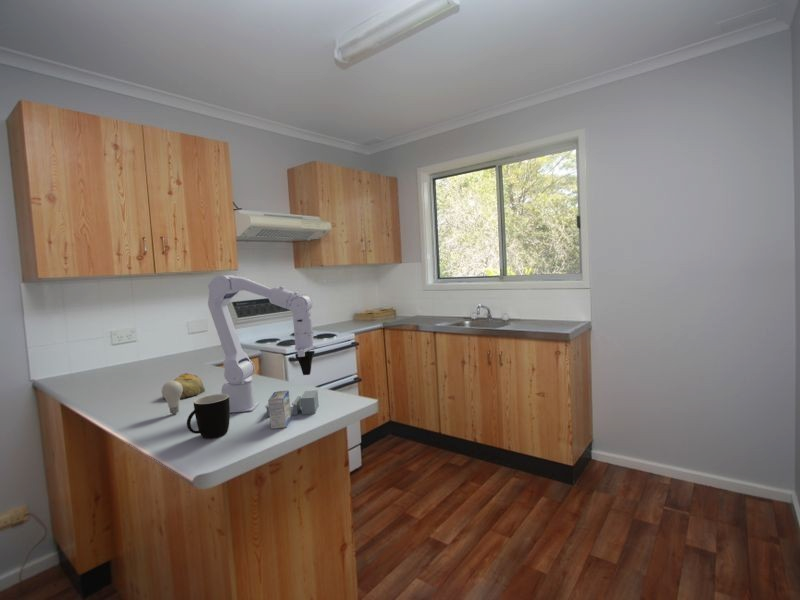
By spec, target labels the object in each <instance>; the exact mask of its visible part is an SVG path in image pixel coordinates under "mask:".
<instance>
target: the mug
mask: <svg viewBox="0 0 800 600" xmlns="http://www.w3.org/2000/svg"><path fill="white" fill-rule="evenodd" d="M230 415H231V414H230V403H229V396H228V395H227V394H221V393H217V394H215V393H214V394H209V395H204V396H201V397H198V398H196V399H195V400H194V401H193V411H191V413H189V415H188V417H187V419H186V427H187V429H188V431H189V432H190V433H192V434H197V435H198V434H200V436H201V437H202V438H203V439H207V440H209V439H210V440H211V439H216V438H221V437H222V436H225V435H226V434H227V433H228V431H229V428H230V417H231V416H230ZM194 416H195V421H196V424H197V428H198V430H195V429H193V428H192V424H191V422H192V419H193V417H194Z"/></svg>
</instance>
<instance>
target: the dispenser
mask: <svg viewBox="0 0 800 600" xmlns="http://www.w3.org/2000/svg"><path fill="white" fill-rule="evenodd" d="M291 405H292V406H290V410H291V416H298V414H299V412H300V411H301V415H312V414H313V415H314V414H316V413H317V410H318V408H319V392H318V390H317V389H316V390H315V389H313V390H305V391H304V393H302V396H301V395H298V396H297V397H296V398H295V400H294V401H293V402H292V403H291ZM264 407H265V408H266V417H267V418H270V414H269V404H265V405H264Z"/></svg>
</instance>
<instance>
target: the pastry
mask: <svg viewBox="0 0 800 600" xmlns="http://www.w3.org/2000/svg"><path fill="white" fill-rule="evenodd" d="M173 381H177V382H179V383H180V384H181V385H182V387H183V392H182V394H181V397H180V399H185V398H188V397H189V398H190V397H193V396H198V395H200V394H203V393H204V392H205V391H206V389H205V386H204V384H203V381H202V379H201V378H200V377H198V375H197V374H196V375H195V374H190V373H183V374H180V375H179V376H178V377H176V378H175V379H173ZM162 398H163V399H164V400H166V399H165V398H164V397H163V396H162Z"/></svg>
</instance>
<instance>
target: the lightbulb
mask: <svg viewBox="0 0 800 600" xmlns="http://www.w3.org/2000/svg"><path fill="white" fill-rule="evenodd" d="M182 392H183V387H182V385H181V384H180V383H179V382H177V381H174V380H170V381H167V382H166V383H164V384H163V385H162V387H161V395H162V398H163V397H164V398H165V399H164V398H163V399H164V400H166V402H167V405H168V406H167V407H168V408H169V413H170V414H172V415H177V413H179V412H180V408H179V407H180V397H181V394H182Z"/></svg>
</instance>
